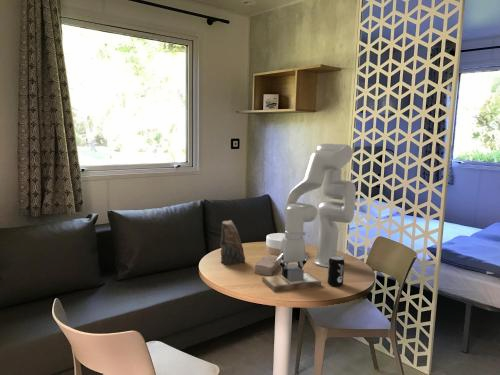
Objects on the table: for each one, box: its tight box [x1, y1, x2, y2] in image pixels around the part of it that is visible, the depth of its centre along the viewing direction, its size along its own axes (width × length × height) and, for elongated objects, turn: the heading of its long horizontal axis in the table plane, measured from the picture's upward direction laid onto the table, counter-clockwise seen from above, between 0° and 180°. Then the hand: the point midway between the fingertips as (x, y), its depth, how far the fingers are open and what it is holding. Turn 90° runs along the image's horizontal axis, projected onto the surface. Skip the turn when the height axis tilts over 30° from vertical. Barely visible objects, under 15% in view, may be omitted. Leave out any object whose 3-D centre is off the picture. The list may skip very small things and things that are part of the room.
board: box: [261, 271, 322, 293], centre depth 168 cm, size 22×12×2 cm, turn 111°
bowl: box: [265, 232, 285, 257], centre depth 215 cm, size 17×17×8 cm
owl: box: [219, 219, 246, 266], centre depth 195 cm, size 13×13×20 cm
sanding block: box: [280, 263, 305, 283], centre depth 167 cm, size 6×9×5 cm, turn 21°
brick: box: [254, 254, 280, 276], centre depth 186 cm, size 17×8×5 cm, turn 162°
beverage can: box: [327, 255, 345, 288], centre depth 168 cm, size 7×7×12 cm
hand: (291, 276), depth 167 cm, fingers closed on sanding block, 6 cm apart
